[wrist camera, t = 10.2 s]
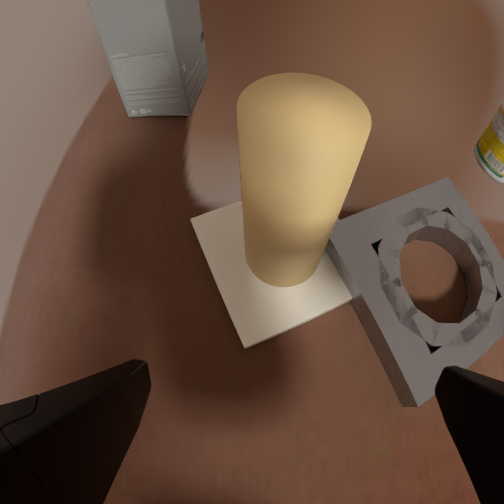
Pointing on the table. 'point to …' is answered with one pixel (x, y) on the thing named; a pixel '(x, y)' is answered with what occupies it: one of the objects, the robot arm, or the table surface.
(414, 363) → the housing
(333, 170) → the beige rounded peg
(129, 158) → the table surface
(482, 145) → the supplement bottle
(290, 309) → the tile
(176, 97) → the skincare box
